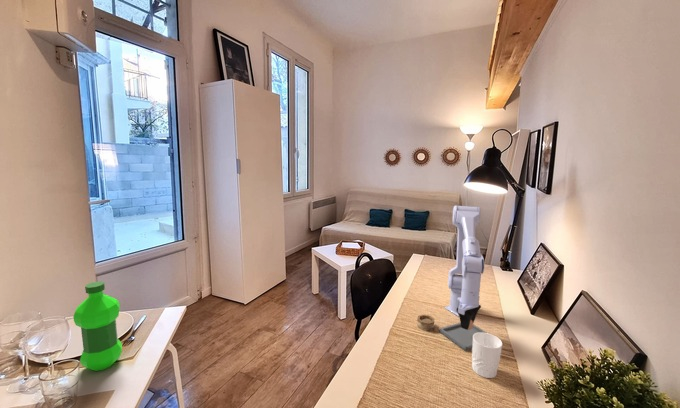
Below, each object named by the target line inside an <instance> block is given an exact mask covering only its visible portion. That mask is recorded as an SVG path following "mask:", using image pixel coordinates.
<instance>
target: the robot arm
mask: <svg viewBox="0 0 680 408" xmlns="http://www.w3.org/2000/svg"><path fill="white" fill-rule="evenodd" d="M481 214H482V212H481V207H480V206H466V205H465V206H464V205H457V204H456V205H454V206H453V208H452V226H454V227H456V230H457V242H456V263H455V264H456V265H455V266H454V267H452V268H450V269H449V271H448V275H447V287H448V289H449V290H450V294H449V296H450V297H449V305H446V306H444V308H445V310H447V311H449V312H451V313H452V314H454V315H456V316H457V317H459V321H460V322H459V323H461V328H463V329H466V330H468V328H469V325H470V321H471V320H472V322H473V324H474V323H475V319H476V317H477V314H478V312H479V311H480V309H481V308H482V305H480V299H481V298H480V290H481V280H482V275H483V274H484V272H485V259H484V256H483V254H482V253H481V247H480V241H479V240H478V238H476V227H477V225H478V224H479V222H480V220H481V217H482V215H481Z"/></svg>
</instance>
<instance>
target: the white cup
mask: <svg viewBox="0 0 680 408" xmlns="http://www.w3.org/2000/svg"><path fill="white" fill-rule="evenodd" d="M502 349H503V342H502V340H501V338H499V337H498V336H496V335H494V334H492V333H489V332H487V333H484V332H478V333H475V334H474V335H473V343H472V349H471V369H472V370H473V372H474V373H476V374H477V375H479V376H480V377H482V378H487V379H494V378H496V377H497V373H498V369H499V365H500V360H501V355H502Z"/></svg>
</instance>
